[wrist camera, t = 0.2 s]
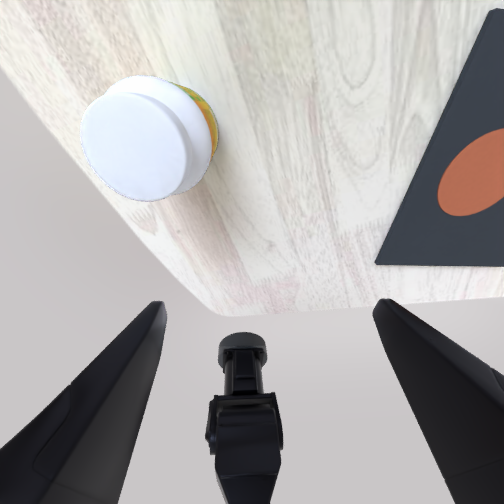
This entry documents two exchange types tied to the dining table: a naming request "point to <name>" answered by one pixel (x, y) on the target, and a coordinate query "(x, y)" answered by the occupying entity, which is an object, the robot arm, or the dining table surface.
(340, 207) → the dining table surface
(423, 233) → the placemat
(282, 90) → the dining table surface
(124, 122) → the supplement bottle
